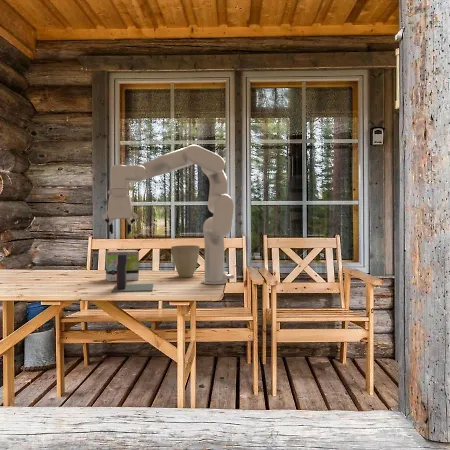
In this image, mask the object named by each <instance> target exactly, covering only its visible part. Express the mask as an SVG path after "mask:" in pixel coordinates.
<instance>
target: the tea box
mask: <svg viewBox="0 0 450 450" xmlns="http://www.w3.org/2000/svg"><path fill="white" fill-rule="evenodd" d="M119 253H127V258H128V260H127V263H126V282H128V281H139V276H140V275H139V273H140V269H139V267H140V266H139V263H140V260H139V259H140V252H139V251H138V250H137V249H112V250H109V249H108V250H105V279H106V280H107V282H117V279H116V278H117V256H118V254H119Z"/></svg>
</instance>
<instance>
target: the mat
mask: <svg viewBox="0 0 450 450" xmlns="http://www.w3.org/2000/svg"><path fill="white" fill-rule="evenodd" d="M153 288H154V283H128V284H127V283H126V288H125V289H118V288H117V284H115V286H114V287H113V288H112V290H111V293H133V292H134V293H135V292H136V293H138V292H139V293H141V292H153Z"/></svg>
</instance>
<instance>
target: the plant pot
mask: <svg viewBox="0 0 450 450" xmlns="http://www.w3.org/2000/svg"><path fill="white" fill-rule="evenodd" d="M200 247H201V246H200V245H197V244H196V245H194V244H191V245H187V244H186V245H185V244H182V245H181V244H179V245H172V246H171V254H172V259H173V263H174V267H175V269H176V272H177V275H178V278H179V277H180V278H191V277H193V276H194V275H195V270H196V269H197V268H196V267H197V265H198V260H199V254H200Z"/></svg>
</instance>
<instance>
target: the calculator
mask: <svg viewBox="0 0 450 450" xmlns="http://www.w3.org/2000/svg"><path fill="white" fill-rule="evenodd" d="M127 260H128V258H127V253H119V254H118V256H117V278H116V279H117V281H116V285H117V288H118V289H125V288H126V284H127V281H126V263H127Z"/></svg>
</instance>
